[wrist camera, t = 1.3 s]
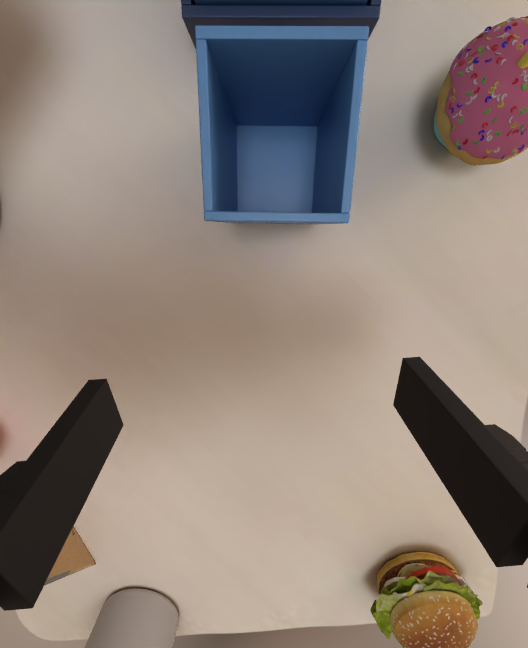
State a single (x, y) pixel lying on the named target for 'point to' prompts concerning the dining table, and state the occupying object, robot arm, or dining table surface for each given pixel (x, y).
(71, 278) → the dining table surface
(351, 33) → the lone bin
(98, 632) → the cylinder vase
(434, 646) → the food
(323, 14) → the bin stack
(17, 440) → the dining table surface
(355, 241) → the dining table surface
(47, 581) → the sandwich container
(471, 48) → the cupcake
